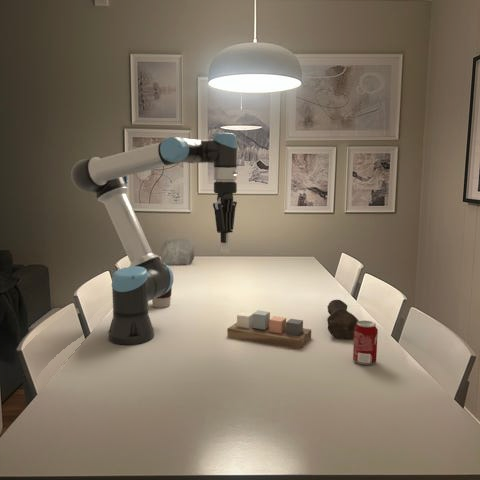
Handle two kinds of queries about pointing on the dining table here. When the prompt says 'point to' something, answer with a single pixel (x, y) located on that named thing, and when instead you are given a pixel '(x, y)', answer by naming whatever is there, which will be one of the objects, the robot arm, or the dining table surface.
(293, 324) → the dark gray block
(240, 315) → the key ivory
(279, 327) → the key terracotta
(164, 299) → the coffee cup
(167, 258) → the decorative stone
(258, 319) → the light grey block
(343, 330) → the dark brown bone
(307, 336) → the wooden block tray
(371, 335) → the soda can
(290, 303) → the dining table surface
